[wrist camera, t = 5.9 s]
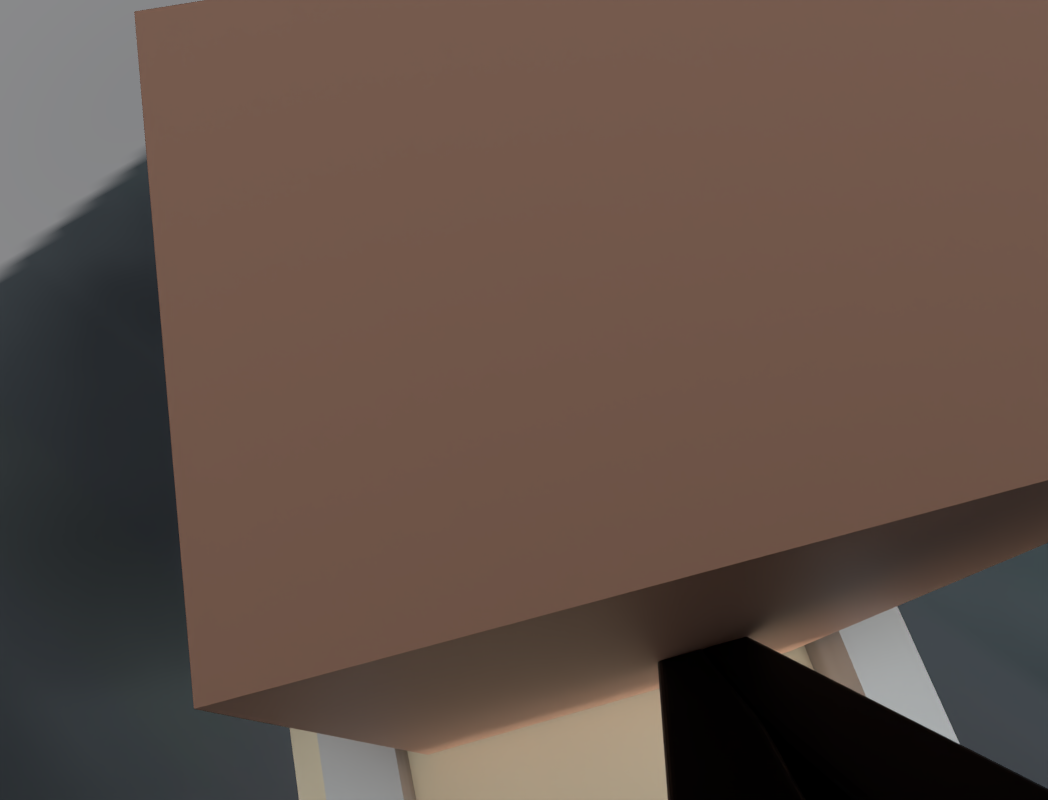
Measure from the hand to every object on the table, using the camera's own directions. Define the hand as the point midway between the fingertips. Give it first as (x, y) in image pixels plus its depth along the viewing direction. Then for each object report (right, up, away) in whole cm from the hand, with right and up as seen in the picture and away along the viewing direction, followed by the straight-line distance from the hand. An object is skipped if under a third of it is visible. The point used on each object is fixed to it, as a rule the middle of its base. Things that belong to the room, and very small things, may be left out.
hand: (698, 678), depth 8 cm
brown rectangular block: (-1, 0, +6) cm, 6 cm away
